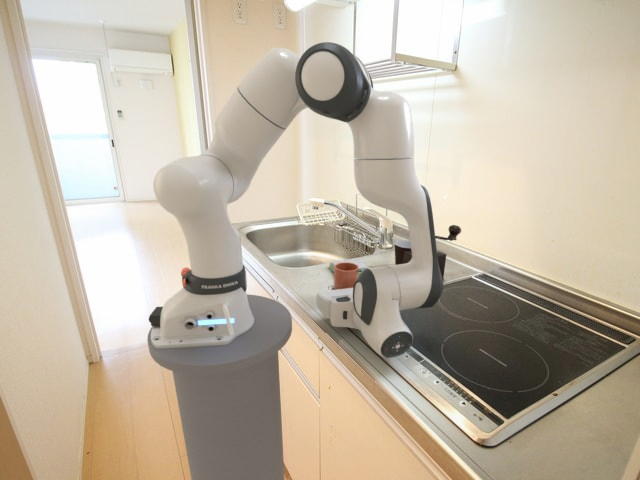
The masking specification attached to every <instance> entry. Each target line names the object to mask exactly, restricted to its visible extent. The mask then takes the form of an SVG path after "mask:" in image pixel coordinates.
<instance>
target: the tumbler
mask: <svg viewBox="0 0 640 480" xmlns="http://www.w3.org/2000/svg"><path fill="white" fill-rule="evenodd" d="M358 273H359V266H358V265H356V264H354V263H348V262H343V263H338V264H336V265H335V266H334V273H333V285H334V286H335V290H337V289H345V288H353V287H354V284H355V282H356V280H357V278H358Z"/></svg>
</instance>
